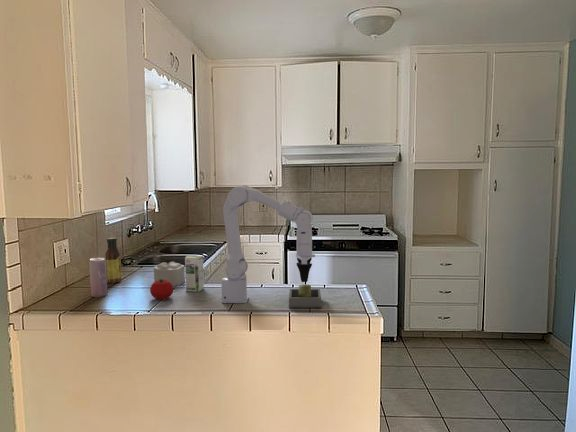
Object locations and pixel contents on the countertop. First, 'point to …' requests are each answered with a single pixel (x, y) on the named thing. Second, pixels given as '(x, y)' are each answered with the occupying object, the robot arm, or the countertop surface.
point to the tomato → (161, 289)
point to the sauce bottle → (113, 261)
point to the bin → (304, 300)
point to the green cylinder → (304, 290)
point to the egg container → (170, 273)
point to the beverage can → (98, 277)
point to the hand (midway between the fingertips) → (304, 279)
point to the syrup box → (194, 273)
